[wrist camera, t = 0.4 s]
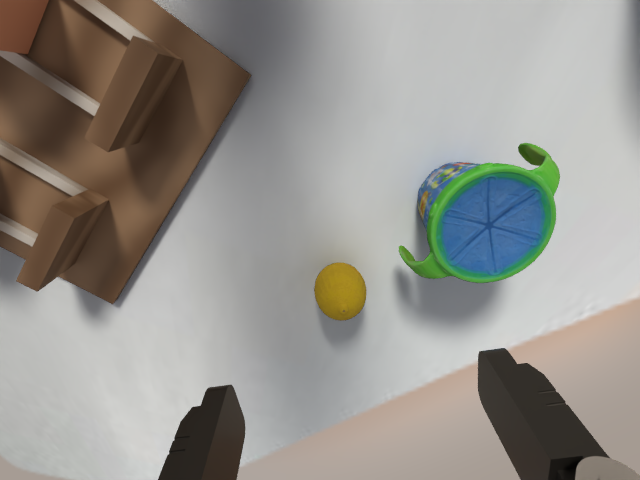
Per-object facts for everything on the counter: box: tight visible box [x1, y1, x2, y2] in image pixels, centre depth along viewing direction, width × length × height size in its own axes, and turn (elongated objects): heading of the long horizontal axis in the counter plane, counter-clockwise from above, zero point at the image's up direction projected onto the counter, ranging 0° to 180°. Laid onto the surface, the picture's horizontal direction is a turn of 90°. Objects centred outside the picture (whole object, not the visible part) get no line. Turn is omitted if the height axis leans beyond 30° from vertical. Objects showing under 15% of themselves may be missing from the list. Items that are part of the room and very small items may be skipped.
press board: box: [0, 0, 251, 304], centre depth 32 cm, size 26×30×7 cm
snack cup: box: [399, 143, 560, 283], centre depth 35 cm, size 16×11×10 cm
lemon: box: [314, 263, 366, 320], centre depth 39 cm, size 6×6×8 cm
